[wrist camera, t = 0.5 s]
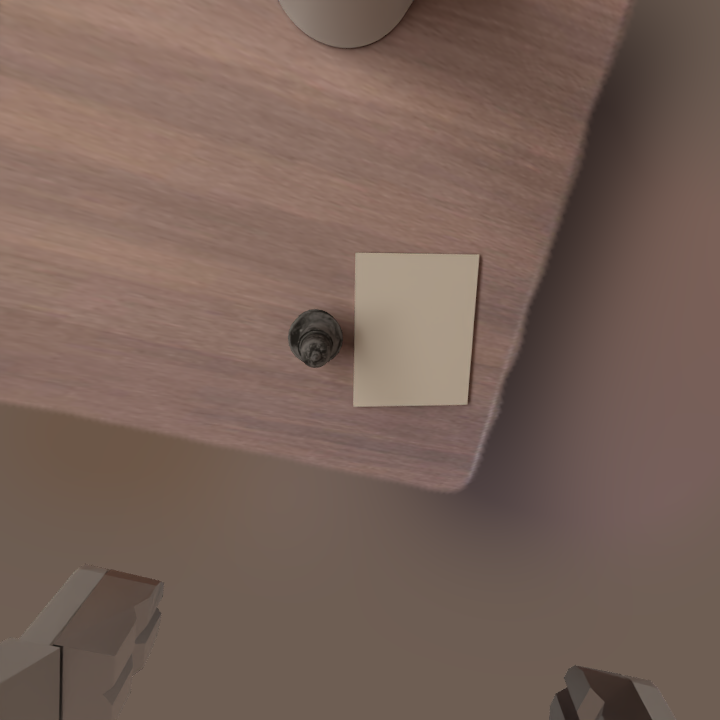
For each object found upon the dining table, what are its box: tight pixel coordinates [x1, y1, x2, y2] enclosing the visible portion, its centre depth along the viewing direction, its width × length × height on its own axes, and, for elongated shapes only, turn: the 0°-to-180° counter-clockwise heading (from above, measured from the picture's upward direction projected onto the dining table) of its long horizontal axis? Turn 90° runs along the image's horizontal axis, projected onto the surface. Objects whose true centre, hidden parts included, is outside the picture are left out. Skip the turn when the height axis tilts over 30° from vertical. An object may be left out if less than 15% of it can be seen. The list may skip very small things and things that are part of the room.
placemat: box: [353, 253, 479, 407], centre depth 54 cm, size 18×14×1 cm
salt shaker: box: [288, 309, 343, 368], centre depth 48 cm, size 6×6×12 cm
